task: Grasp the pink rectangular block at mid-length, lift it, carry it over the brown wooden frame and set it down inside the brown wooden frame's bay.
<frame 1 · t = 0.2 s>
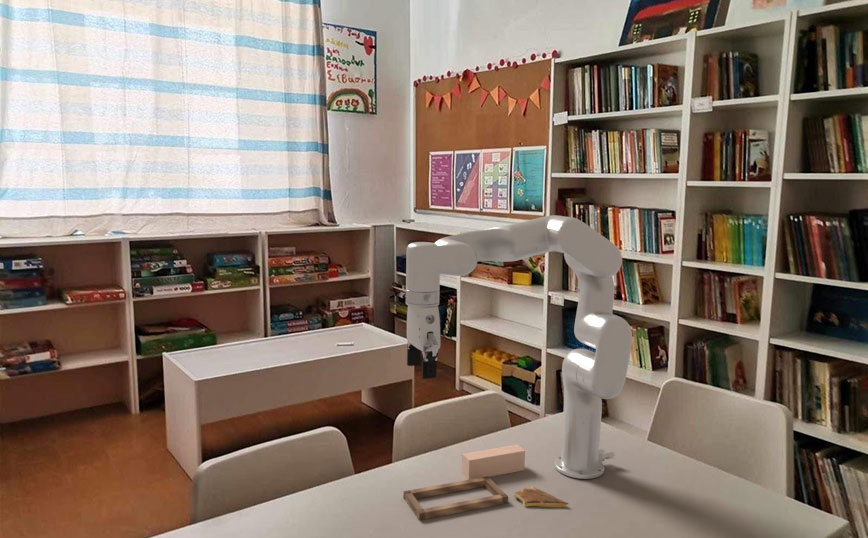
hand: (421, 371, 146), 31 cm above the table, tool pointing down, fingers open, 9 cm apart
pink rectangular block: (493, 472, 164), on the table
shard: (539, 501, 151), on the table
brown wooden frame: (455, 500, 149), on the table
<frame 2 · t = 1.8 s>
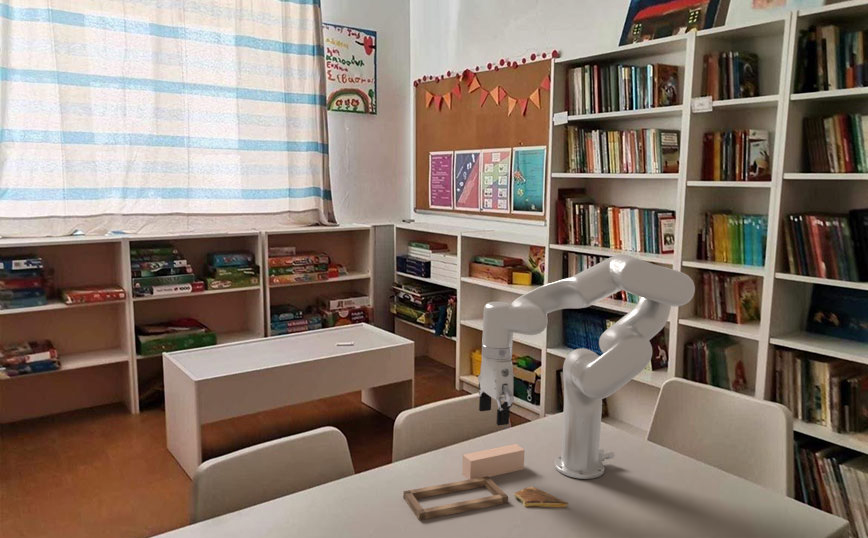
hand: (493, 417, 162), 15 cm above the table, tool pointing down, fingers open, 9 cm apart
nothing on the table moved.
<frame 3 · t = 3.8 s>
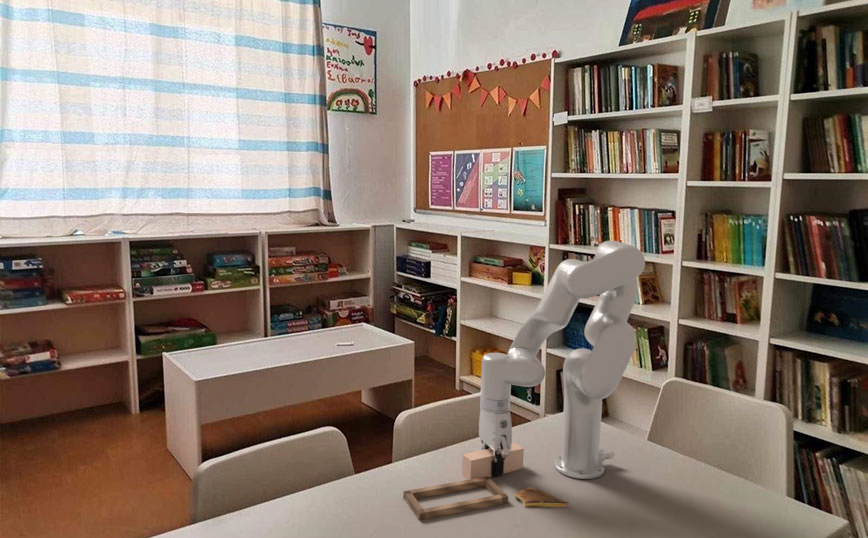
hand: (492, 469, 164), 0 cm above the table, tool pointing down, fingers closed on pink rectangular block, 4 cm apart
pink rectangular block: (492, 471, 164), on the table, touching gripper
everything else where it was.
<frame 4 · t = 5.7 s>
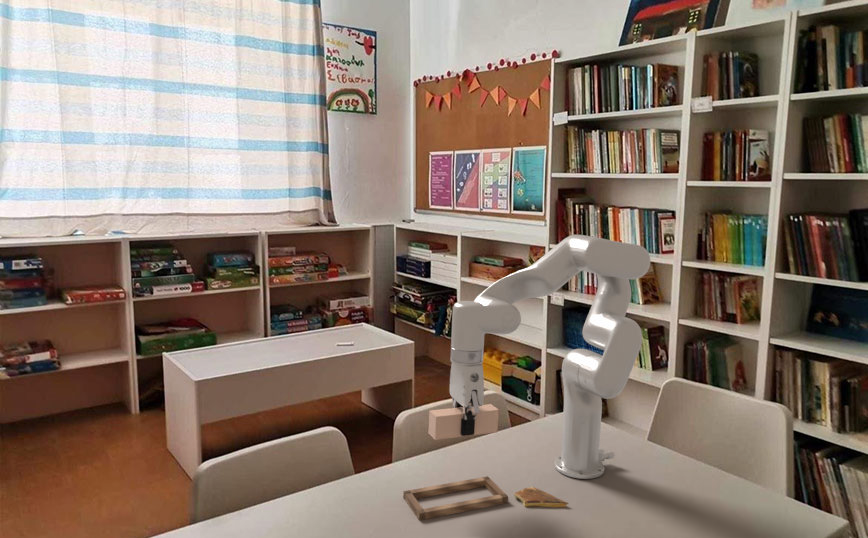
hand: (463, 430, 150), 16 cm above the table, tool pointing down, fingers closed on pink rectangular block, 4 cm apart
pink rectangular block: (463, 432, 150), point 15 cm above the table, touching gripper
everything else where it was.
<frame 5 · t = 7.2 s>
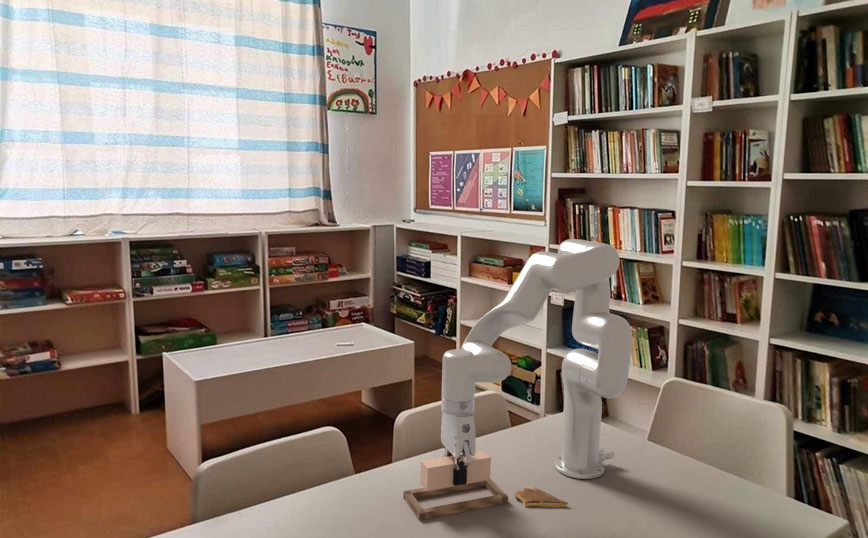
hand: (455, 478, 148), 5 cm above the table, tool pointing down, fingers closed on pink rectangular block, 4 cm apart
pink rectangular block: (455, 481, 148), point 5 cm above the table, touching gripper
everything else where it was.
when the fingers open (2 cm above the table, at t = 8.1 s): pink rectangular block drops 2 cm, resting in brown wooden frame.
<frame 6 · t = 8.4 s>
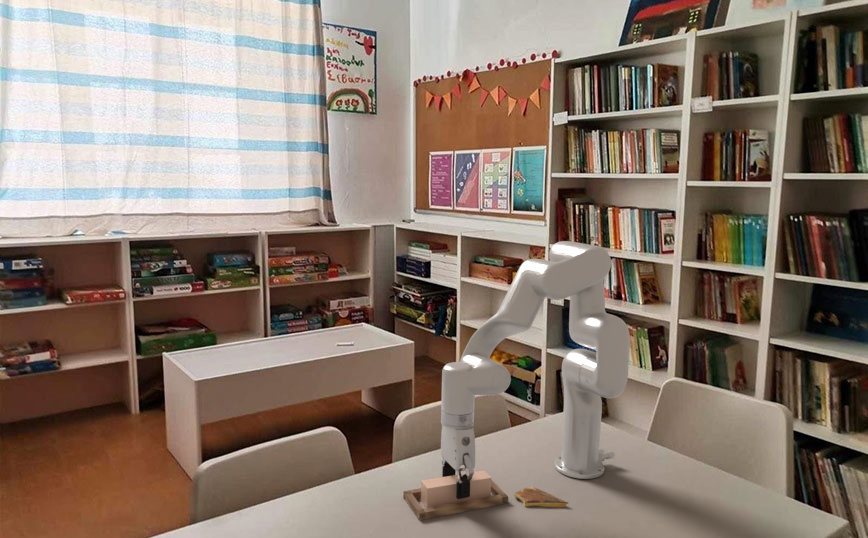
hand: (455, 488, 149), 3 cm above the table, tool pointing down, fingers open, 7 cm apart
pink rectangular block: (456, 501, 149), resting in brown wooden frame
everything else where it was.
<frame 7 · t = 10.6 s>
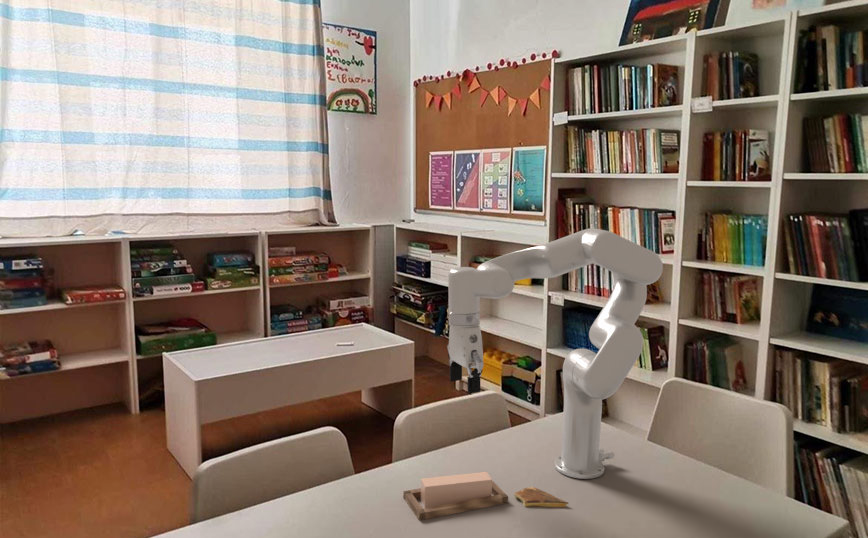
hand: (464, 386, 157), 24 cm above the table, tool pointing down, fingers open, 9 cm apart
nothing on the table moved.
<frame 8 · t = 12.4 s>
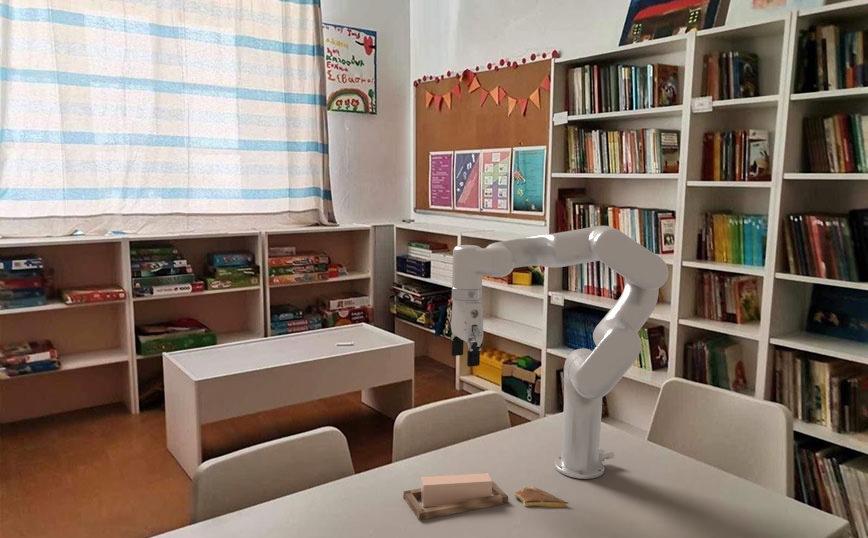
hand: (465, 360, 163), 28 cm above the table, tool pointing down, fingers open, 9 cm apart
nothing on the table moved.
at the end: pink rectangular block inside the target area on the brown wooden frame (0.2 cm from its centre), point 0.0 cm above the brown wooden frame's base; pink rectangular block tilted 0°; the gripper is holding nothing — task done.
